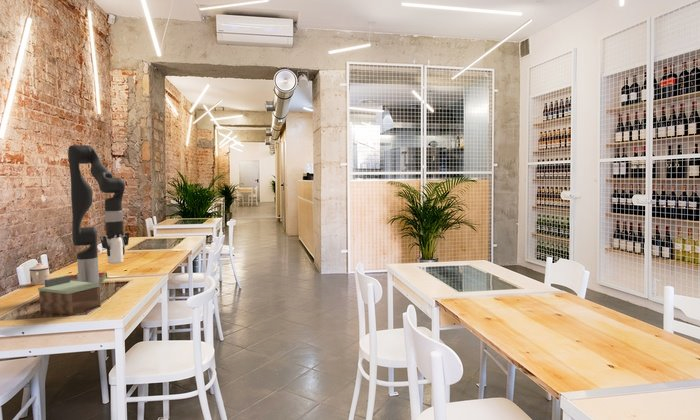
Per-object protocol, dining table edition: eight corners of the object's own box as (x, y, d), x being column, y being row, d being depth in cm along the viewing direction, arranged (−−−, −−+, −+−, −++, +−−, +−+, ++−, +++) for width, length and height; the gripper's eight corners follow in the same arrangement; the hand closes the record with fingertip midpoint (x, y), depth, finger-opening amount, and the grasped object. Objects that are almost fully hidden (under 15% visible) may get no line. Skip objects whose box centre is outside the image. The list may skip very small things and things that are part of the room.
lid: (38, 290, 195) (37, 281, 194) (71, 283, 208) (70, 274, 208) (67, 294, 187) (67, 284, 186) (100, 286, 200) (99, 277, 200)
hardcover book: (66, 282, 257) (66, 274, 257) (107, 278, 264) (106, 271, 264) (60, 286, 246) (60, 278, 245) (103, 282, 253) (103, 275, 252)
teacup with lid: (32, 282, 254) (31, 262, 254) (51, 281, 258) (49, 261, 257) (27, 287, 244) (25, 266, 243) (46, 285, 247) (45, 264, 246)
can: (116, 263, 206) (115, 238, 205) (104, 263, 207) (103, 238, 206) (126, 261, 212) (125, 236, 211) (114, 261, 213) (113, 236, 213)
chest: (40, 310, 196) (39, 290, 195) (71, 302, 208) (70, 283, 208) (70, 315, 188) (68, 294, 187) (100, 306, 200) (99, 287, 200)
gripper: (122, 218, 217) (123, 253, 218) (94, 221, 204) (96, 258, 205) (132, 219, 214) (134, 254, 215) (105, 222, 200) (107, 259, 202)
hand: (116, 255), depth 210 cm, fingers closed on can, 5 cm apart
